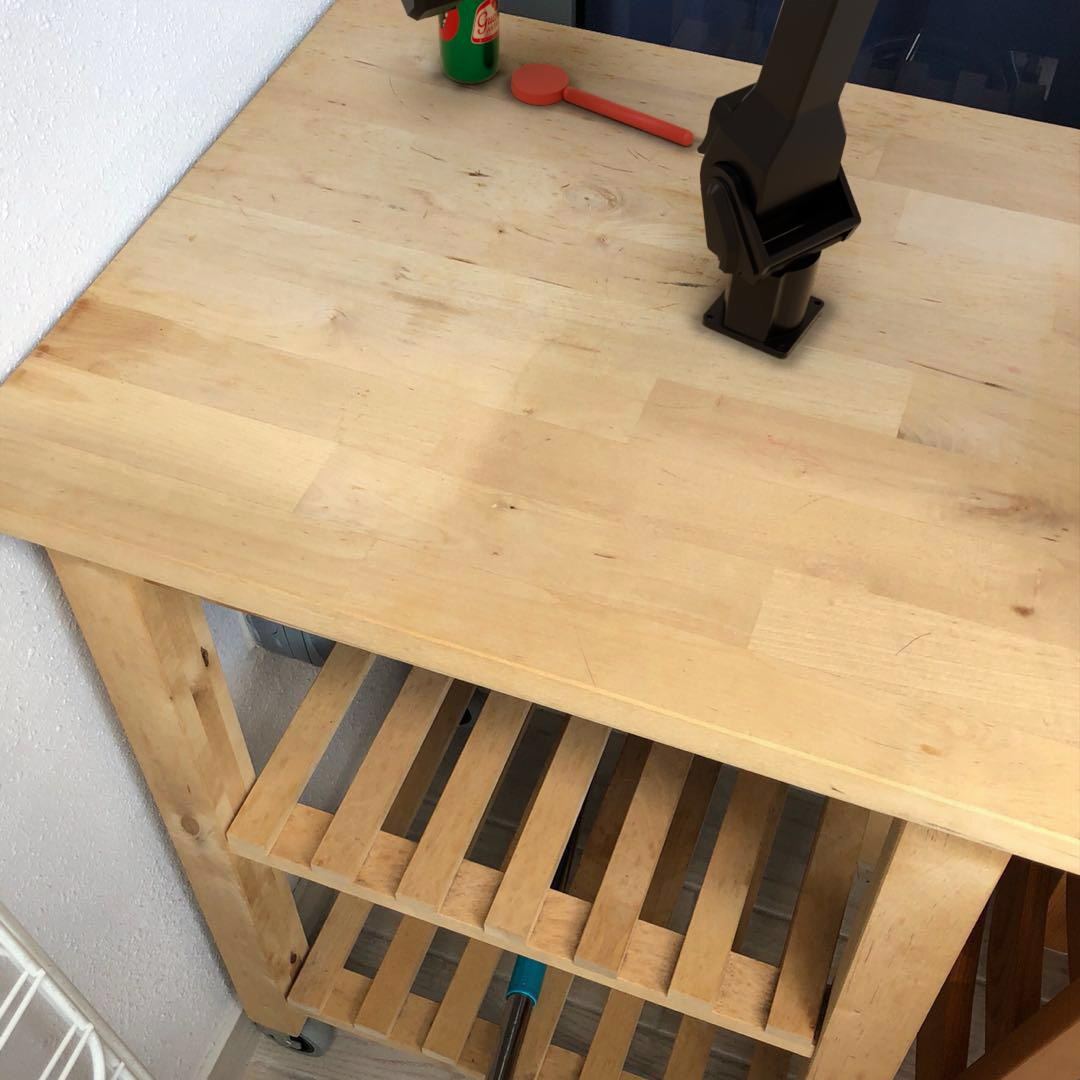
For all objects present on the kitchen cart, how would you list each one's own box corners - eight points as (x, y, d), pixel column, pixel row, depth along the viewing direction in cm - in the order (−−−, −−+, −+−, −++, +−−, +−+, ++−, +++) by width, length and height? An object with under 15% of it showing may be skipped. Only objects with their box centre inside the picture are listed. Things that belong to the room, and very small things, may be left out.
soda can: (485, 92, 99) (481, -52, 90) (430, 79, 101) (421, -65, 91) (509, 63, 102) (508, -80, 93) (456, 50, 103) (450, -93, 94)
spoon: (706, 132, 96) (708, 119, 95) (677, 161, 94) (678, 148, 93) (531, 67, 102) (532, 54, 101) (500, 93, 99) (499, 80, 98)
